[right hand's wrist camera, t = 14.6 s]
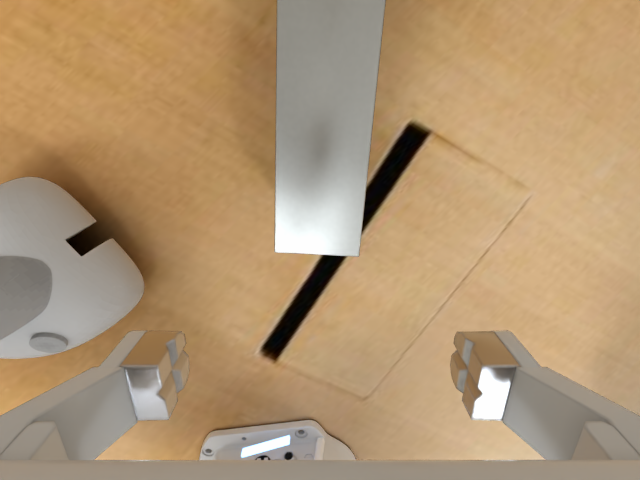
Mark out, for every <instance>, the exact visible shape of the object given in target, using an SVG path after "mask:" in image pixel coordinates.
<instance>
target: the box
mask: <svg viewBox="0 0 640 480" xmlns="http://www.w3.org/2000/svg"><path fill="white" fill-rule="evenodd" d="M385 3H386V0H277V49H276V153H275V252H277V253H297V254H317V255H336V256H356V257H359V252H360V242H361V233H362V223H363V214H364V204H365V194H366V185H367V175H368V166H369V156H370V146H371V137H372V127H373V118H374V108H375V99H376V89H377V79H378V70H379V60H380V51H381V41H382V31H383V22H384V12H385Z"/></svg>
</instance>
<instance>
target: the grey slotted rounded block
mask: <svg viewBox="0 0 640 480" xmlns="http://www.w3.org/2000/svg"><path fill="white" fill-rule="evenodd" d="M95 222H97V221H96V220H95V219H94V218H93V217H92V216H91V215H90V213H89V212H88V211H87V210H86V209H85V208H84V207H83V206H82V205H81V204H80V203H79V202H78V201H77V200H75V199H74V198H73V197H72V196H71V195H70V194H69V193H68V192H66V191H65V190H64V189H63V188H61V187H60V186H58V185H56V184H55V183H53V182H50V181H48V180H46V179H42V178H38V177H23V178H18V179H14V180H11V181H8V182H5V183H3V184H1V185H0V358H7V359H21V358H36V357H43V356H48V355H53V354H57V353H60V352H64V351H67V350H69V349H72V348H74V347H77V346H79V345H81V344H83V343H85V342H87V341H89V340H91V339H93V338H95V337H96V336H98V335H100V334H101V333H103V332H104V331H106V330H107V329H109V328H110V327H112V326H113V325H114V324H116V323H117V322H118V321H120V320H121V319H122V318H123V317H125V316H126V315H127V314H128V313H129V312H130V311H131V310H132V309H133V308H134V307H135V306H136V305H137V304H138V302H139V301H140V300H141V298H142V296H143V293H144V280H143V277H142V275H141V273H140V271H139V269H138V268H137V266H136V265H135V263H134V262H133V261H132V260H131V258H130V257H129V256H128V255H127V254H126V252H125V251H124V250H123V249H122V248H121V247H120V246H119V245H118V243H117V242H116V241H115V240H114V239H113V238H112V239H109V240H107V241H105V242H104V243H102V244H100V245H99V246H97V247H96V248H94V249H92V250H91V251H89V252H88V253H86V254H85V255H83V256H80V255H79V254H78V253H77V252H76V251H75V250H74V249H73V248H72V247H71V246H70V245H69V244H68V243H67V242H66V241H68V240H69V239H71V238H72V237H74V236H75V235H77V234H79V233H80V232H82V231H83V230H85V229H86V228H88V227H89V226H91V225H92V224H94V223H95Z"/></svg>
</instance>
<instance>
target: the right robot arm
mask: <svg viewBox="0 0 640 480" xmlns="http://www.w3.org/2000/svg"><path fill="white" fill-rule="evenodd" d="M185 345H186V339H185V334H184V333H183V332H182V331H130V332H128V333H127V334H126V335H125V337H124V338H123V339H122V340H121V341H120V342H119V344H118V345H117V346H116V347H115V348H114V350H113V351H112V352H111V353H110V354H109V355H108V357H107V358H106V359H105V360H104V361H103V363H102V364H101V365H100V366H99V367H92V368H91V369H89V370H87V371H85V372H83V373H81V374H79V375H77V376H75V377H73V378H71V379H70V380H68V381H66V382H64V383H62V384H60V385H58V386H56V387H54V388H52V389H50V390H49V391H47V392H45V393H43V394H41V395H39V396H37V397H35V398H33V399H31V400H29V401H28V402H26V403H24V404H22V405H20V406H18V407H16V408H14V409H12V410H10V411H8V412H7V413H5V414H3V415H1V416H0V480H640V416H639V415H637V414H635V413H633V412H631V411H629V410H627V409H626V408H624V407H622V406H620V405H618V404H616V403H614V402H612V401H610V400H608V399H607V398H605V397H603V396H601V395H599V394H597V393H595V392H593V391H591V390H589V389H588V388H586V387H584V386H582V385H580V384H578V383H576V382H574V381H572V380H570V379H568V378H567V377H565V376H563V375H561V374H559V373H557V372H555V371H553V370H551V369H549V368H548V367H541V366H540V365H539V364H538V363H537V361H536V360H535V359H534V358H533V357H532V355H531V354H530V353H529V352H528V351H527V350H526V348H525V347H524V346H523V345H522V344H521V343H520V341H519V340H518V339H517V338H516V337H515V335H514V334H513V333H512V332H510V331H508V330H504V331H478V332H457V333H456V335H455V338H454V345H455V347H456V349H457V351H456V352H455V353H454V354H453V355H452V356H451V363H450V367H451V376H452V379H453V382H454V385H455V387H456V388H457V389H458V390H459V391H461V392H462V393H463V398H462V401H463V403H464V406H465V408H466V410H467V412H468V414H469V416H470V418H471V420H499V421H503V423H504V424H505V425H507V426H508V427H509V428H510V429H511V430H512V431H513V432H515V433H516V434H517V435H518V436H519V437H520V438H522V439H523V440H524V441H525V442H526V443H527V444H528V445H530V446H531V447H532V448H533V449H534V450H535V451H537V452H538V453H539V454H540V455H541V456H542V457H544V458H545V459H546V460H356V458H355V456H354V454H353V453H352V451H351V450H350V449H349V448H348V447H347V446H346V445H345V444H343V443H342V442H340V441H339V440H337V439H335V438H333V437H331V436H330V435H328V434H327V433H326V432H325V431H324V429H323V428H322V427H321V426H320V425H319V424H318V423H317V422H316V421H313V420H303V421H294V422H286V423H277V424H269V425H260V426H251V427H243V428H234V429H225V430H217V431H212V432H210V433H209V434H208V435H207V437H206V438H205V440H204V442H203V445H202V448H201V453H200V459H199V460H94V459H95V458H97V457H98V456H99V455H100V454H101V453H102V452H104V451H105V450H106V449H107V448H108V447H109V446H110V445H112V444H113V443H114V442H115V441H116V440H117V439H119V438H120V437H121V436H122V435H123V434H124V433H126V432H127V431H128V430H129V429H130V428H131V427H133V426H134V425H135V424H136V423H137V421H141V420H169V418H170V416H171V414H172V412H173V410H174V408H175V406H176V403H177V401H178V398H177V393H178V392H179V391H181V390H182V389H183V388H184V387H185V384H186V382H187V380H188V375H189V367H190V362H189V356H188V355H187V354H186V353H185V352H184V351H183V349H184V347H185Z"/></svg>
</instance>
